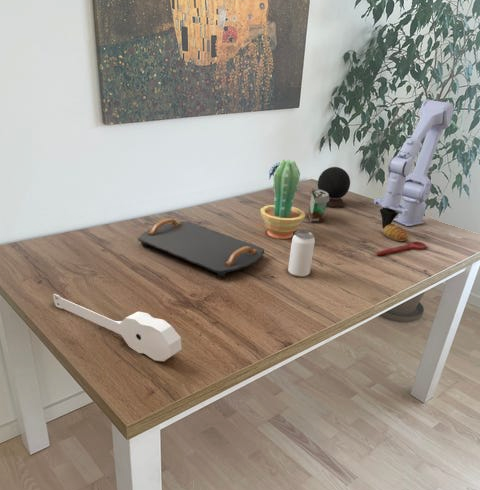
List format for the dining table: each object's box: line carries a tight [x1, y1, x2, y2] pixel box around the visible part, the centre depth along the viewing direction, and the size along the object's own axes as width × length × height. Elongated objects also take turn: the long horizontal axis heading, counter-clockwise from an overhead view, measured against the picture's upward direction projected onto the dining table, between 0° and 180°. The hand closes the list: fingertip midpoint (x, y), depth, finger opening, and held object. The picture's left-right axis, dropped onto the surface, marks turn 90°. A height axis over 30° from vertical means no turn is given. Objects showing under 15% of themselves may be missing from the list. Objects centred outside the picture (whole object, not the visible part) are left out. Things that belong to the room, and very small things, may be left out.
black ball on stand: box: [317, 166, 351, 209], centre depth 198 cm, size 13×13×15 cm
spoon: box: [376, 241, 427, 257], centre depth 162 cm, size 23×5×2 cm, turn 122°
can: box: [287, 230, 316, 278], centre depth 139 cm, size 6×6×12 cm
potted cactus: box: [260, 159, 306, 240], centre depth 161 cm, size 15×15×25 cm
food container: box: [308, 187, 329, 224], centre depth 181 cm, size 12×6×10 cm, turn 179°
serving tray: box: [137, 218, 265, 280], centre depth 148 cm, size 39×23×6 cm, turn 53°
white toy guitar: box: [52, 293, 182, 362], centre depth 107 cm, size 38×8×4 cm
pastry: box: [382, 223, 409, 242], centre depth 172 cm, size 9×7×4 cm
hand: (385, 228), depth 176 cm, fingers closed
